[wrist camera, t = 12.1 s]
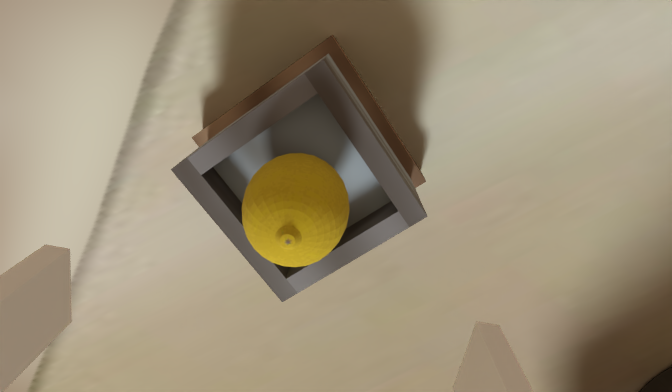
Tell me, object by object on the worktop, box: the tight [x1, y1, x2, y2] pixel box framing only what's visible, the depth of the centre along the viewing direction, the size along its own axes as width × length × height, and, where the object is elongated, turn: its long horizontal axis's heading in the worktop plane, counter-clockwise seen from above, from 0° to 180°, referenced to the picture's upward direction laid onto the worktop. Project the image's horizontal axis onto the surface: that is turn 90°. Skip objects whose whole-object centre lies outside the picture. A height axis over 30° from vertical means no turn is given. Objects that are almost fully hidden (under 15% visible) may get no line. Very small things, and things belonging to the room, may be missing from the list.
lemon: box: [242, 153, 350, 267], centre depth 23 cm, size 6×6×8 cm
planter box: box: [171, 35, 427, 302], centre depth 30 cm, size 12×12×10 cm
